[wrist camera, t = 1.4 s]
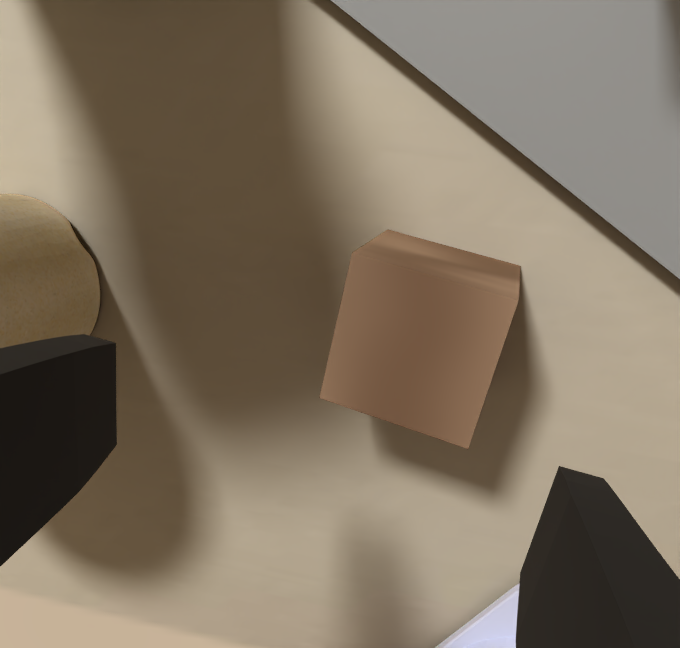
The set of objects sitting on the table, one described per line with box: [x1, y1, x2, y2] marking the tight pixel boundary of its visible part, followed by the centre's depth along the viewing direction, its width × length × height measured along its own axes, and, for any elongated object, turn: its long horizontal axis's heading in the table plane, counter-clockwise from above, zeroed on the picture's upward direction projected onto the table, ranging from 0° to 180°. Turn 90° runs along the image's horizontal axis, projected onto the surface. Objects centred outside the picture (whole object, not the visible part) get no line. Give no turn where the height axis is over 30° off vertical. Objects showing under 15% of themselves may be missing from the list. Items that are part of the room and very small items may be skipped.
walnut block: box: [319, 230, 520, 449], centre depth 16 cm, size 4×4×4 cm
